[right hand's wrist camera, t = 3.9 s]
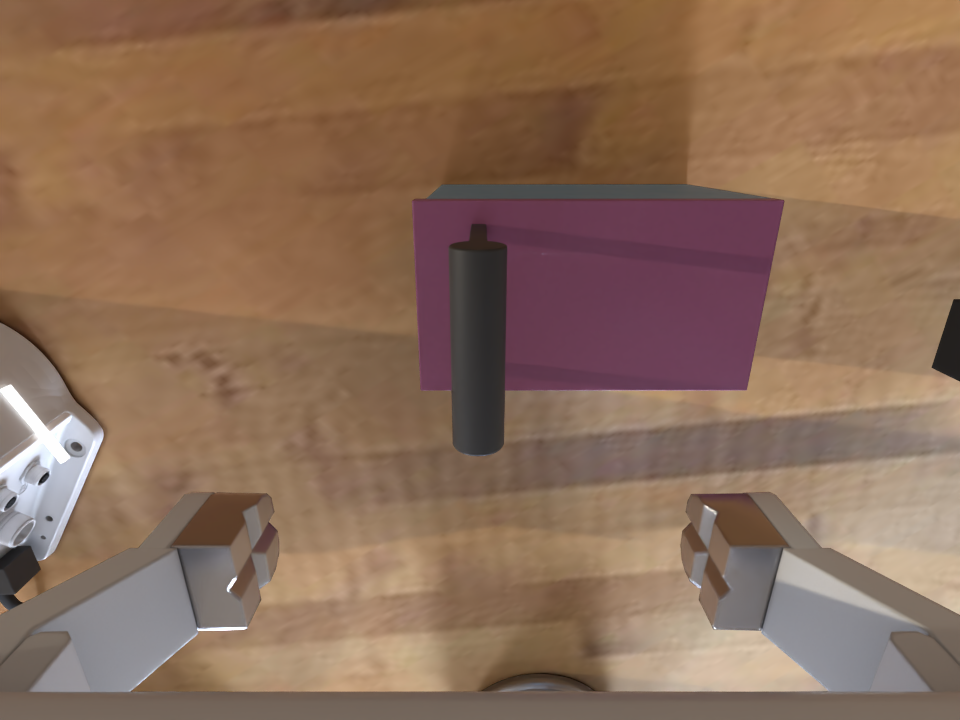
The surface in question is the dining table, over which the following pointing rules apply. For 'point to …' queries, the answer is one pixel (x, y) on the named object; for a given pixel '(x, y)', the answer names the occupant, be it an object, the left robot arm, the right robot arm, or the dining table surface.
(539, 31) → the dining table surface
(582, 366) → the lid
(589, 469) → the dining table surface
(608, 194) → the chest
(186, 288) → the dining table surface
